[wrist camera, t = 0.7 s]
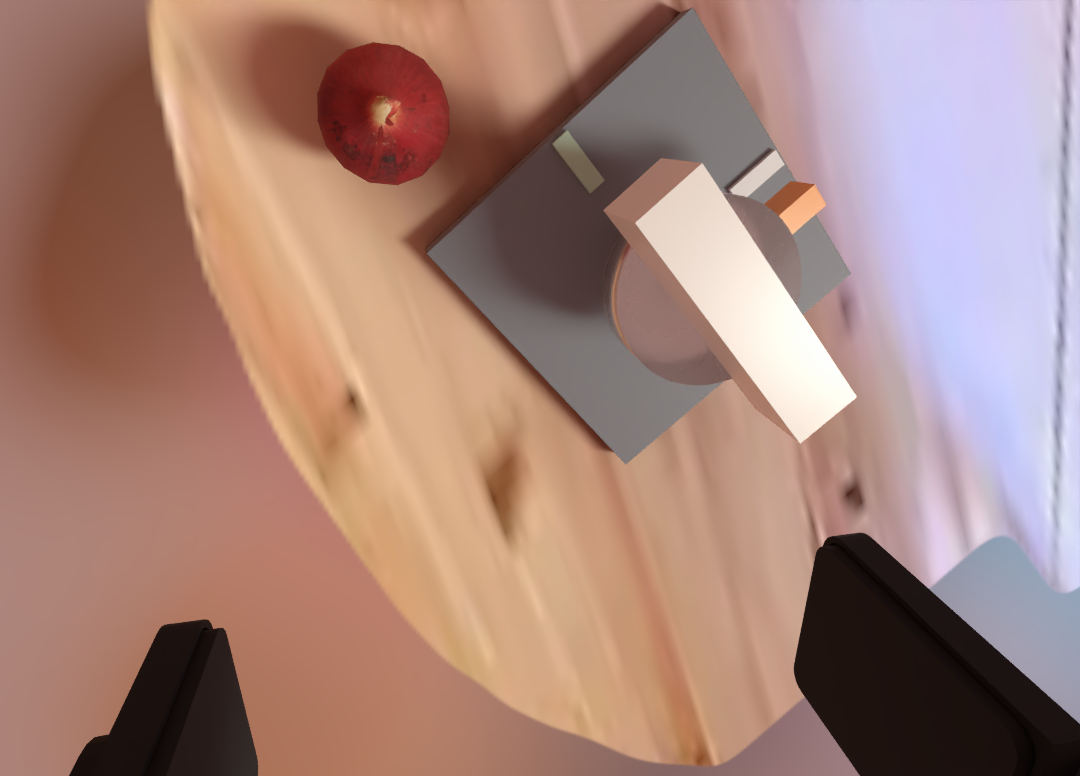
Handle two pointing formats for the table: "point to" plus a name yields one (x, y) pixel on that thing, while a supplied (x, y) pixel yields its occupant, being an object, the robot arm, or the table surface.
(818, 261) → the base
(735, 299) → the cap
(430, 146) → the onion
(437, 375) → the table surface
